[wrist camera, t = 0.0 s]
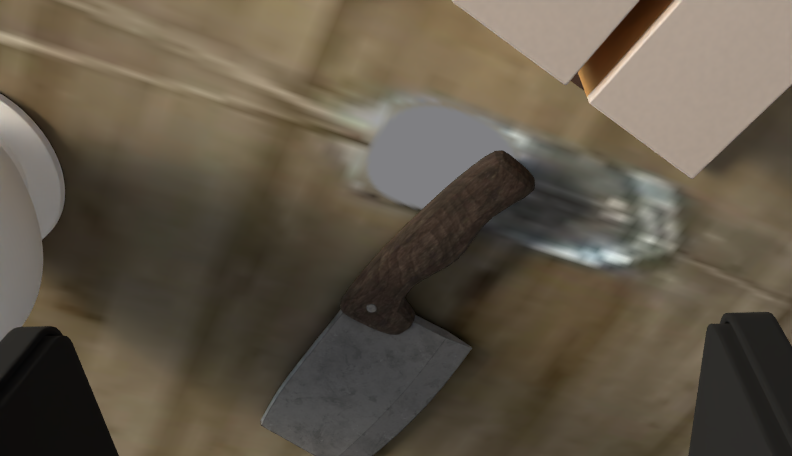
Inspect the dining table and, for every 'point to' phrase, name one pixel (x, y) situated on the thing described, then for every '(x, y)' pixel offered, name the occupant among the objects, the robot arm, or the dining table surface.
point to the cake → (659, 63)
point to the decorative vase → (24, 211)
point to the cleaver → (391, 327)
